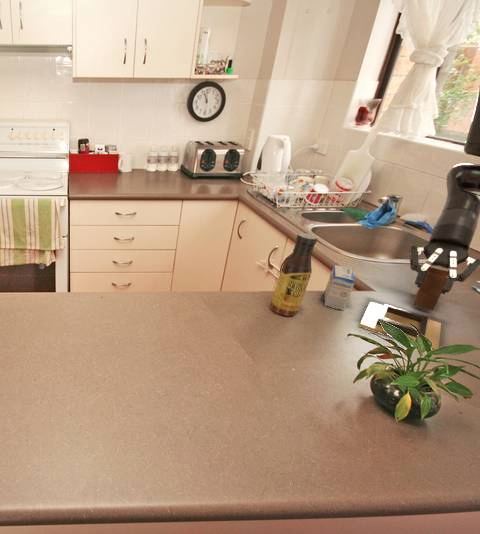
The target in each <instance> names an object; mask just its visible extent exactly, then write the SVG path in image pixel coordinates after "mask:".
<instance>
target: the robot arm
mask: <svg viewBox="0 0 480 534" xmlns="http://www.w3.org/2000/svg"><path fill="white" fill-rule="evenodd" d="M477 93H478V94H477V98H476V103H475V107H474V111H473V115H472V118H471V121H470V124H469V129H468V132H467V135H466V140H465V143H464V146H463V152H464V153H465V154H466V155H468V156H472V157H477V158H480V86H479V87H478V92H477ZM445 181H446V198H445V199H446V200H445V202H444V205H443V208H442V210H441V213H440V215H439V216H438V218H437V220H436V222H435V224H434V226H433V230H432V232H431V234H430V238H429V240H428V243H427V244H426V245H424V246H422V247H421V246H420V247H419V246H416V245H412V246H410V249H409V251H408V252H409V253H408V254H409V263H410V266H409V267H410V270H411V271H415V272H417V275H416V278H415V281H414V285H416V287H417V288H418V289H419V288H420V287H421V286H422V283H423V280H424V277H425V275H426V271H427V269H428V268H429V267H431V268H432V267H433V266H435V267H442V268H444V269H445V271H449V277H448V280H447V282H446V284H445V287H444V289H443V290H442V293H441V295H445V294H446V293H447V294H448V293H450V291H452V288H453V286H454V283H455V282H460V283H463V282H465V281H466V280H467V279H469V277H470V276H471V275H472V274H473V273H474V272H475V271H477V269H478V268H479V267H480V258H477V259H475V258H473V257H471V256H470V254H469V250H470V246H471V244H472V241H473V238H474V236H475V233H476V230H477V227H478V223H479V218H480V194H478V193H480V163H459V164H456V165H454V166H452V167H451V168H450V169H448V172H447V174H446V180H445ZM421 254H424V257H425V259H426V261H424V263H423V265H421V264H420V262H419V257H420V256H421ZM464 262H466V264H465V266H466V269H464V271H463V272H461V273H457V268H458V265H460V264H462V263H464Z"/></svg>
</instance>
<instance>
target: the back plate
mask: <svg viewBox="0 0 480 534" xmlns="http://www.w3.org/2000/svg"><path fill="white" fill-rule="evenodd" d="M378 320H382V321H384V322H387V323H389V324H391V325H393V326H395V327H397V328H399V329H401V330H402V331H403V332H404V333H406V334H407V335H408V336H409V337H410V338H412V339H413V340H415V339H416V338H417V335H418V333H417V331H416V330H415V329H414V328H413V327H412V326H411V325H410V323H411V324H412V325H414V326H416V327H417V329H418V330H419V331H420V332H421V333H422V334H423V335H424V336H425V337H426V338H428V339H429V340H430V341H431V342H432V350H434V349H436V348H438V349H439V347H440V339H441V331H442V323H441V322H439V321H435V320H432V319H429V316H426V315H423V314H420V313H416V312H413V311H409V310H407V309H403V308H400V307H396V306H393V305H390V304H387V303H383V305H382V304H379V303H376V302H372V301H370V302H369V304H368V305H367V308H366V310H365V312H364V314H363V316H362V318H361V320H360V323H359V325H358V328H360V327H363V328H367V329H370V330H373V331H375V332H380V333H382V334H384V335H385V336H384V335H383V336H384V337H387V336H388V337H387V338H390V339H393V338H392V337H390V336H389V335H387V333H386V332H385V331H384V330H383V328H382V326H381V324H380V322H379V321H378ZM363 328H362V329H363ZM375 332H374V333H375Z"/></svg>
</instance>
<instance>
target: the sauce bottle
mask: <svg viewBox="0 0 480 534" xmlns="http://www.w3.org/2000/svg"><path fill="white" fill-rule="evenodd" d="M295 240H296V242H295V245H294V247H293V250H292V253H290V254H289V255H288V256H287V257H286V258H285V259H284V261H283V264H282V267H281V269H280V271H279V276H278V279H277V281H276V285H275V287H274V291H273V294H272V298H271V303H270V309H271V311H273V312H274V313H275V314H278V315H280V316H283V317H294V316H296V314H297V313H298V311H299V310H300V308H301V305H302V301H303V299H304V296H305V293H306V291H307V288H308V284H309V282H310V280H311V276H312V273H313V271H312V256H313V255H312V254H313V251H314V248H315V245H316V244H317V242H318V236H316V235H314V234H311V233H308V232H307V233H306V232H298V233H297V236H296V237H295Z"/></svg>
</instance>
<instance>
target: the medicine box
mask: <svg viewBox="0 0 480 534" xmlns="http://www.w3.org/2000/svg"><path fill="white" fill-rule="evenodd" d="M355 283H356V282H355V275H354V269H353V268H350V267H346V266H341V265H336V264H335V265H333V267H332V270H331V273H330V275H329V278H328V281H327V284H326V286H325V289H324V292H323V306H324V305H326V306H330V307H334V308H337V309H336V310H338V309H341V310H340V311H345V308H346V306H347V304H348V301H349V299H350V297H351V294H352V290H353V288H354V285H355ZM326 306H325V307H326ZM330 307H329V308H330ZM334 308H333V309H334Z"/></svg>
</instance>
